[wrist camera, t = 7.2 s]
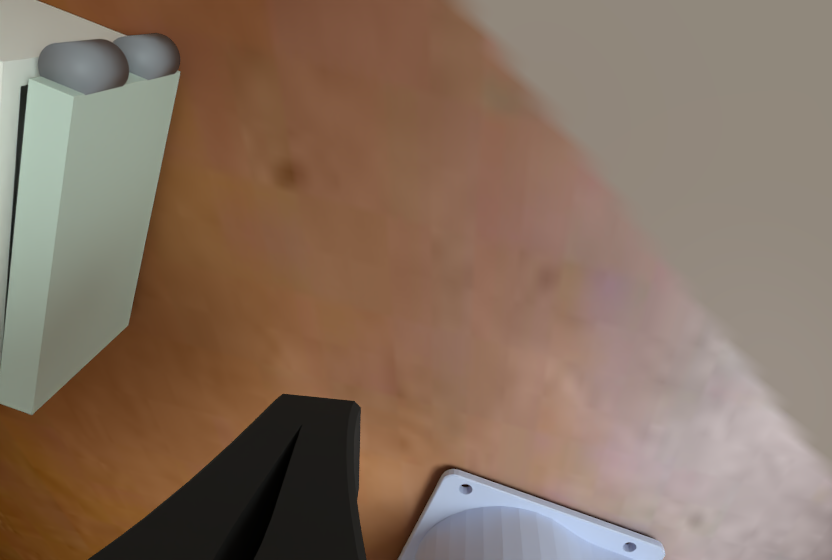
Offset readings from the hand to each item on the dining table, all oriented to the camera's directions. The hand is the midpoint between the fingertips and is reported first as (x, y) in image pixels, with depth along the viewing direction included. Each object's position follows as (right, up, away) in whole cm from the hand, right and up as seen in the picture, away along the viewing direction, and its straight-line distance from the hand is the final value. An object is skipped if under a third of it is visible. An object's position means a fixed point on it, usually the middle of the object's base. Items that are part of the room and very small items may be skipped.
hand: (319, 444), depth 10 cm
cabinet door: (-7, +6, +9) cm, 13 cm away
